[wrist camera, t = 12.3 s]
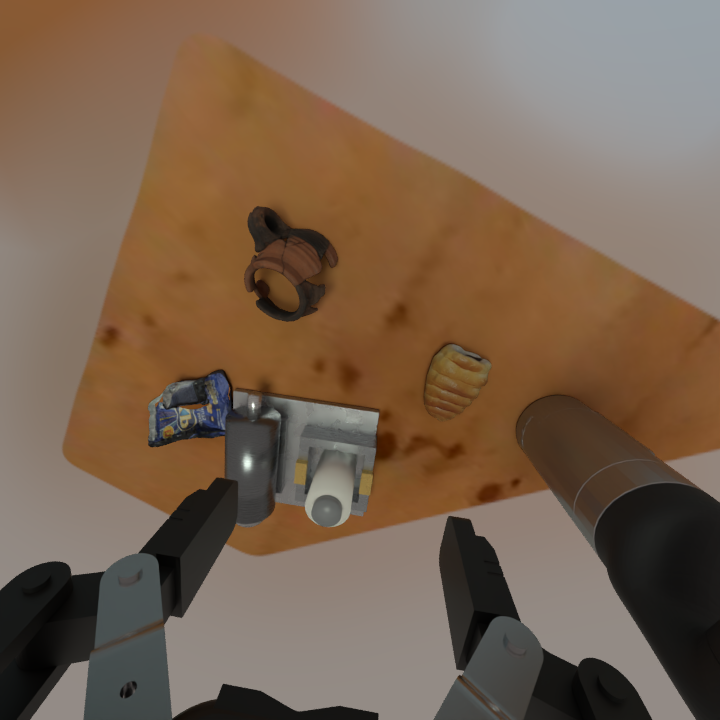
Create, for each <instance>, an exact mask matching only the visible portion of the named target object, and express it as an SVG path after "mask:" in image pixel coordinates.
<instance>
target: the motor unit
mask: <svg viewBox="0 0 720 720" xmlns="http://www.w3.org/2000/svg"><path fill="white" fill-rule="evenodd" d="M378 417H379V410H378V409H372V408H365V407H358V406H352V405H345V404H339V403H332V402H325V401H319V400H312V399H305V398H299V397H292V396H286V395H279V394H272V393H266V392H259V391H253V390H246V389H239V388H236V389H235V390H234V393H233V410H231V411H230V412H229V413H228V414H227V415H226V417H225V479H230V480H237V481H238V515H237V520H236V524H238V525H239V526H242V527H253V526H256V525H258V524H260V523H261V522H262V521H263V520H264V519H266V518H267V517H268V516H270V515H271V513H272V512H273V510H274V508H275V502H279V503H286V504H292V505H298V506H304V507H305V502H306V499H307V495H308V492H309V489H310V486H311V483H312V480H313V477H314V474H315V471H316V468H317V465H318V462H319V459H320V456H321V454H322V452H323V451H324V450H325V449H327V450H334V451H340V452H346V453H353V454H354V455H355V457H356V460H357V465H356V473H355V481H354V488H353V496H352V504H351V511H350V514H352V515H358V516H363V513H364V512H366V510H367V503H368V497H369V496H370V492H371V485H372V479H373V466H374V459H375V453H376V444H377V436H376V430H377V423H378Z"/></svg>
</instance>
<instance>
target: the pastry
mask: <svg viewBox="0 0 720 720" xmlns="http://www.w3.org/2000/svg"><path fill="white" fill-rule="evenodd" d="M490 369H491V363H490V362H489V361H488V360H486V359H482V358H481V357H480V356H479V355H477V354H475V353H471V352H468V351H464V350H463V349H462V348H461V347H460V346H457V345H455V344H449V345H447V346H445V347H444V348H442V349H441V350H440V352H438V353H437V354H436V355H435V356H434V358H433V360H432V363H431V366H430V369H429V372H428V374H427V380H426V387H425V392H424V405H425V407H426V409H427V411H428V413H429V414H430V415H432V416H433V417H435V418H437V419H438V420H440V421H446V420H448V419H452V418H453V417H455V416H456V415H457V414H460V413H462V412H463V410H464V409H465V408H466V407H467V406H469V405H470V404H471V402H472V401H473V400H474V399H476V398H477V396H478V394H479V390H480V389H481V387H482V386H485V385H486V383H487V381H488V372H489V370H490Z"/></svg>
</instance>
